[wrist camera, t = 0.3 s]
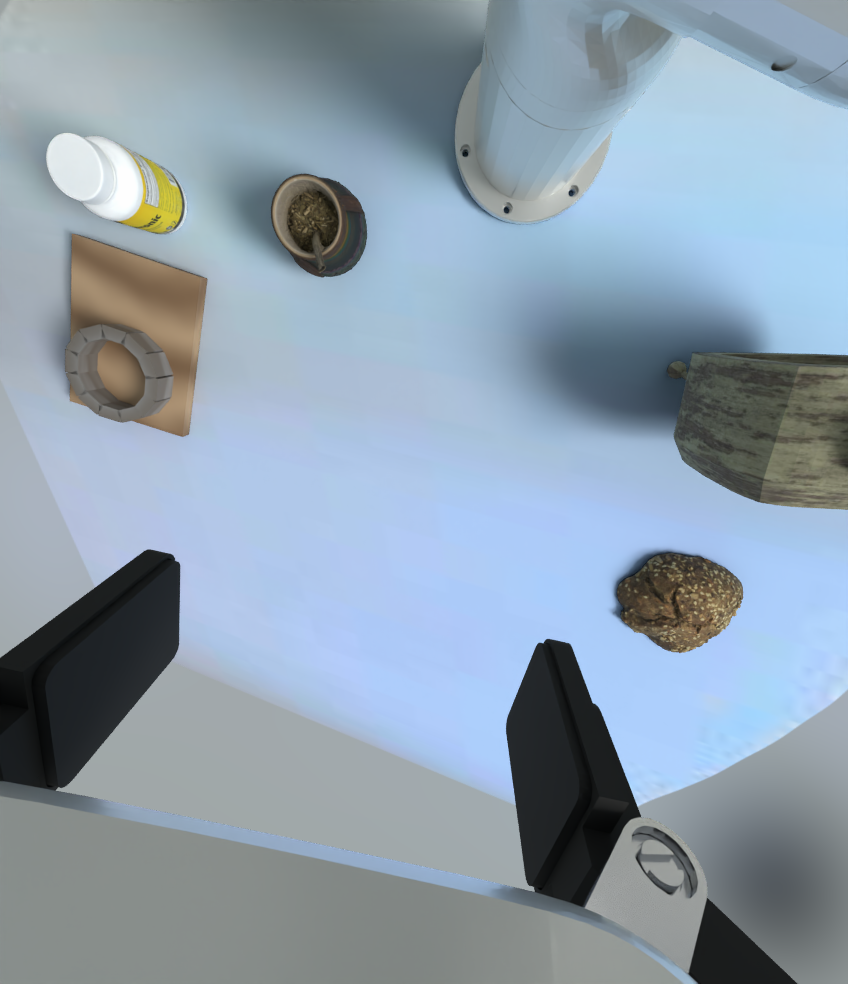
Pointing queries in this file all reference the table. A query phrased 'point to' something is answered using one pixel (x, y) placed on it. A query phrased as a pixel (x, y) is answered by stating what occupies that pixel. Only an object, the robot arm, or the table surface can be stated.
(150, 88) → the table surface
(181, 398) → the collar board
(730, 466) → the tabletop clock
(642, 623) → the bread roll
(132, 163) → the supplement bottle
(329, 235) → the mate gourd
